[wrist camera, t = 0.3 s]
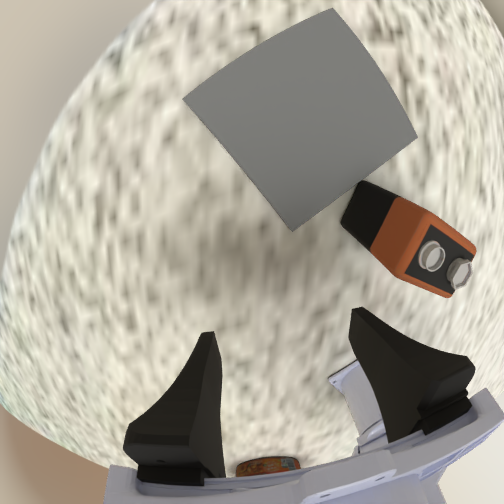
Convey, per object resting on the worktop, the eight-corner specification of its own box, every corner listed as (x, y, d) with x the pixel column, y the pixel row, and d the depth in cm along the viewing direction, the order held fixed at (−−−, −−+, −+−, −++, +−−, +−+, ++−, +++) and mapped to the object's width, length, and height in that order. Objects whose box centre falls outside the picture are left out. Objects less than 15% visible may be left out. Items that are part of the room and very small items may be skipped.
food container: (217, 460, 40) (219, 507, 30) (301, 446, 40) (313, 494, 30) (240, 479, 47) (243, 517, 37) (308, 467, 46) (316, 505, 37)
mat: (414, 136, 19) (417, 137, 19) (290, 229, 22) (292, 231, 21) (329, 10, 14) (332, 7, 14) (183, 99, 17) (182, 98, 16)
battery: (392, 249, 24) (457, 308, 15) (337, 224, 22) (401, 286, 13) (413, 209, 22) (488, 254, 13) (359, 177, 20) (439, 215, 11)
